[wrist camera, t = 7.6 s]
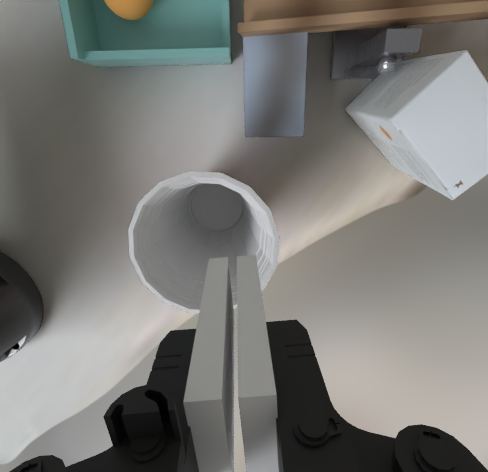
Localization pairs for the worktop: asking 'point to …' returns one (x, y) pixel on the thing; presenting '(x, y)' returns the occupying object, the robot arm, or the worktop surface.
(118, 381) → the worktop surface
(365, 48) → the stand
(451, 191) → the small box
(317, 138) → the worktop surface
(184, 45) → the tray
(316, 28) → the lever
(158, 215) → the plastic cup
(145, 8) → the ball
